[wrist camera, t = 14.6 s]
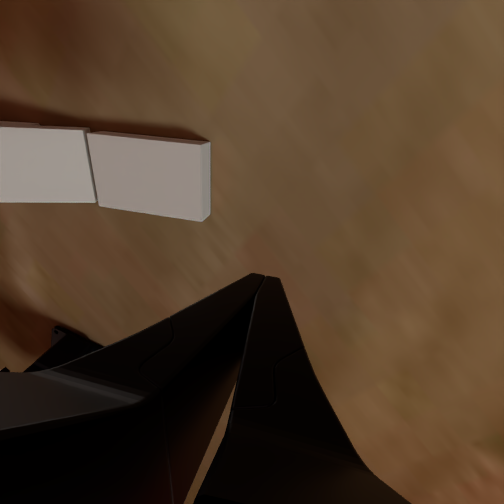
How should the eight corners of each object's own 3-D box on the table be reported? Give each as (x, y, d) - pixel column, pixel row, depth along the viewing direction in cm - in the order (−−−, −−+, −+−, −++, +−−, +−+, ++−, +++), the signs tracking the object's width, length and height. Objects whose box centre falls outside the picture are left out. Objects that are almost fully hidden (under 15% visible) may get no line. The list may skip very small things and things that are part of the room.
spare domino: (200, 145, 19) (86, 133, 20) (201, 221, 21) (98, 206, 23) (210, 141, 20) (103, 131, 22) (210, 213, 23) (113, 199, 24)
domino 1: (82, 130, 21) (-57, 124, 19) (95, 202, 23) (-29, 202, 22) (89, 127, 22) (-40, 122, 21) (101, 195, 24) (-15, 195, 23)
